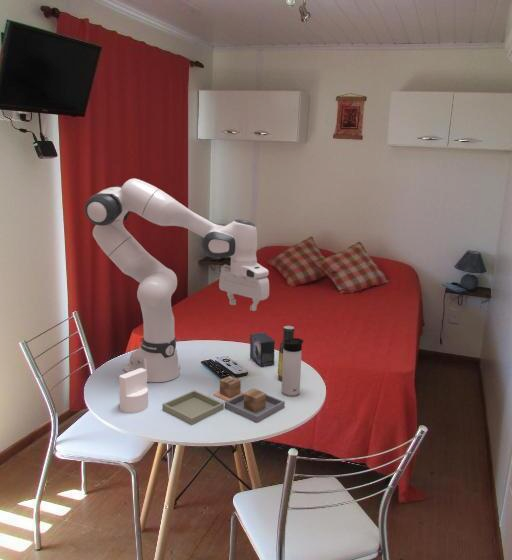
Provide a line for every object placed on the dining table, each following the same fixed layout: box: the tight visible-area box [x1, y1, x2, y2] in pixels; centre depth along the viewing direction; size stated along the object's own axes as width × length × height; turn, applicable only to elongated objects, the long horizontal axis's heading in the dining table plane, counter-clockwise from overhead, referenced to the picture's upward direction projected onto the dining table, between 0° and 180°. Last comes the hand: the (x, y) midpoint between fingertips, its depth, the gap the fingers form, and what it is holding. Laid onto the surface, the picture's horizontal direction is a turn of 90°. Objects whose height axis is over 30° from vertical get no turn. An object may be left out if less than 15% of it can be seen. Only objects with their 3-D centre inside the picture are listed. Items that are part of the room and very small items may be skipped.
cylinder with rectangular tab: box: [118, 368, 149, 414], centre depth 167 cm, size 9×9×12 cm
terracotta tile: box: [212, 390, 245, 402], centre depth 178 cm, size 8×8×1 cm
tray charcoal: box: [224, 388, 286, 424], centre depth 169 cm, size 14×14×2 cm
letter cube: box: [219, 375, 242, 398], centre depth 177 cm, size 5×5×5 cm
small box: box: [249, 332, 276, 368], centre depth 207 cm, size 11×6×10 cm, turn 25°
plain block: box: [244, 388, 267, 413], centre depth 169 cm, size 5×5×5 cm
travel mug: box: [281, 337, 304, 398], centre depth 179 cm, size 6×7×20 cm
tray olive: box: [162, 390, 225, 426], centre depth 167 cm, size 14×14×2 cm
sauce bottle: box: [277, 325, 295, 381], centre depth 191 cm, size 6×6×20 cm
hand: (242, 307), depth 180 cm, fingers open, 8 cm apart
